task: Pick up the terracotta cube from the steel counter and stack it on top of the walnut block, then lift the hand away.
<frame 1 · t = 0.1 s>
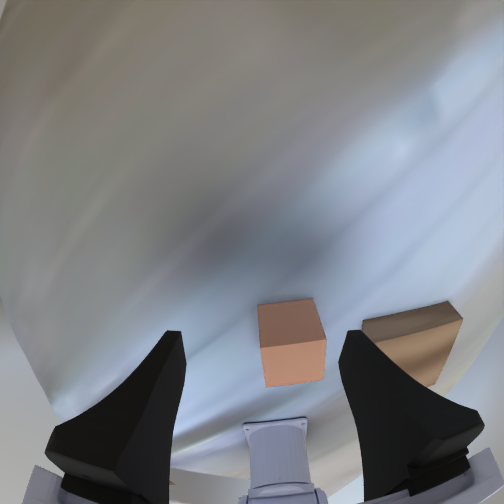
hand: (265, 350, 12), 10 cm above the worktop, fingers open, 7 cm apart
walnut block: (398, 344, 26), on the worktop
terracotta cube: (286, 322, 24), on the worktop
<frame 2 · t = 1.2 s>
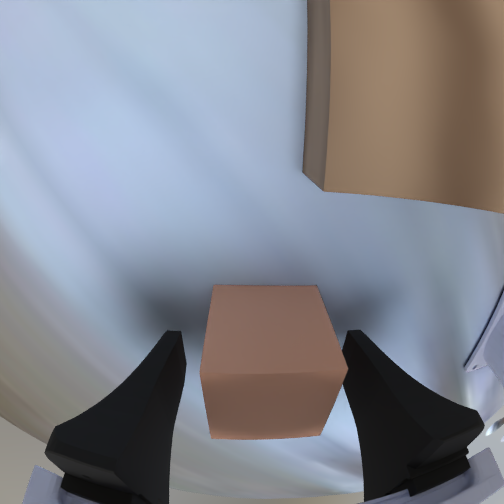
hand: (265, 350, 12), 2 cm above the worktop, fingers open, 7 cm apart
walnut block: (417, 72, 9), on the worktop
terracotta cube: (263, 324, 13), on the worktop
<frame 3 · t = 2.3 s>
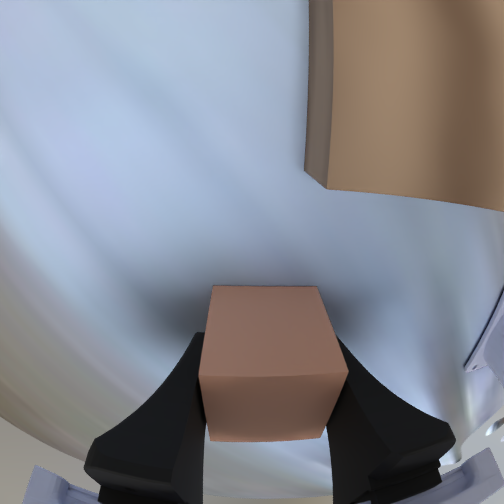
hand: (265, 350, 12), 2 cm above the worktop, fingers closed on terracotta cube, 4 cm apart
walnut block: (418, 71, 9), on the worktop
terracotta cube: (263, 326, 13), on the worktop, touching gripper
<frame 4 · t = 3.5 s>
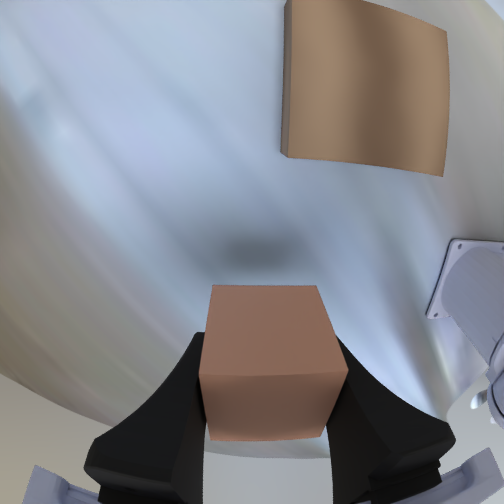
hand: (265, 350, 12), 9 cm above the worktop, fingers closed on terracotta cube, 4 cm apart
walnut block: (358, 85, 15), on the worktop
terracotta cube: (262, 325, 13), point 7 cm above the worktop, touching gripper
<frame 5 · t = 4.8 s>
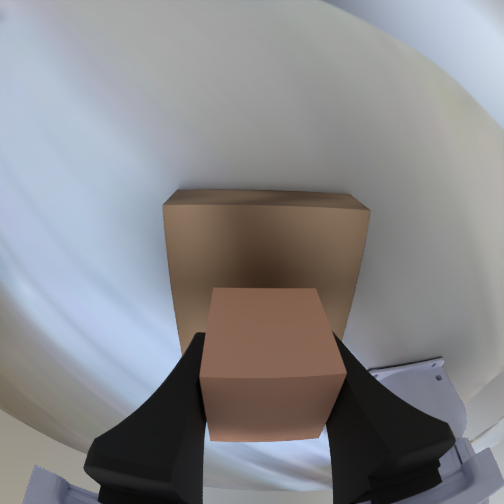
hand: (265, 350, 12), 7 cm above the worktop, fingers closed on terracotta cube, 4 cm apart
walnut block: (261, 266, 18), on the worktop
terracotta cube: (262, 327, 13), point 5 cm above the worktop, touching gripper
when the fingers open (7 cm above the worktop, at t = 5.7 s): terracotta cube drops 2 cm, resting on walnut block.
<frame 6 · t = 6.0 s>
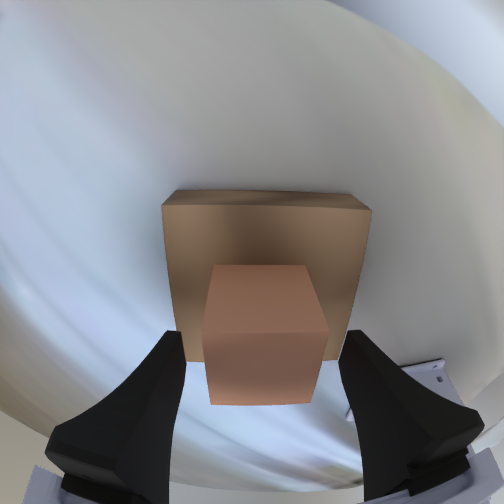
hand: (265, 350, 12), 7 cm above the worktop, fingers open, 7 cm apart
walnut block: (261, 267, 18), on the worktop, touching terracotta cube
terracotta cube: (258, 302, 15), point 3 cm above the worktop, touching walnut block
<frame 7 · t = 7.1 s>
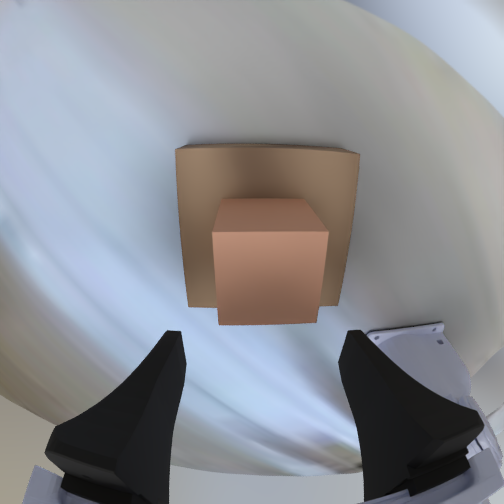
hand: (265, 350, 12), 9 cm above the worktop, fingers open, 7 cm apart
walnut block: (263, 216, 20), on the worktop, touching terracotta cube
terracotta cube: (262, 236, 16), point 3 cm above the worktop, touching walnut block
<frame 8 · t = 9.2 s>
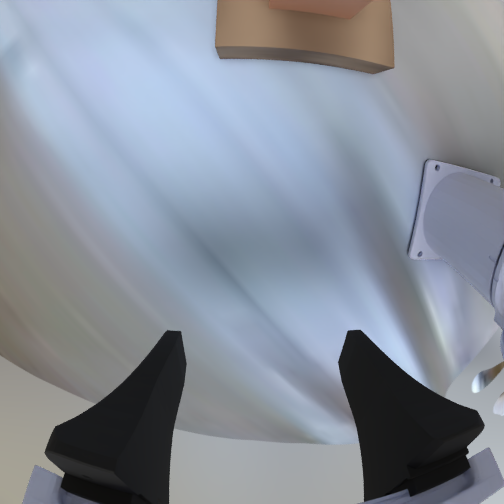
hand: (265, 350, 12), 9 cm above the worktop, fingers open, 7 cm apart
walnut block: (299, 1, 13), on the worktop, touching terracotta cube
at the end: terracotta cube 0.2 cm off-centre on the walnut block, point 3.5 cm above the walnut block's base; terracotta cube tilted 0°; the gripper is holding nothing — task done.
